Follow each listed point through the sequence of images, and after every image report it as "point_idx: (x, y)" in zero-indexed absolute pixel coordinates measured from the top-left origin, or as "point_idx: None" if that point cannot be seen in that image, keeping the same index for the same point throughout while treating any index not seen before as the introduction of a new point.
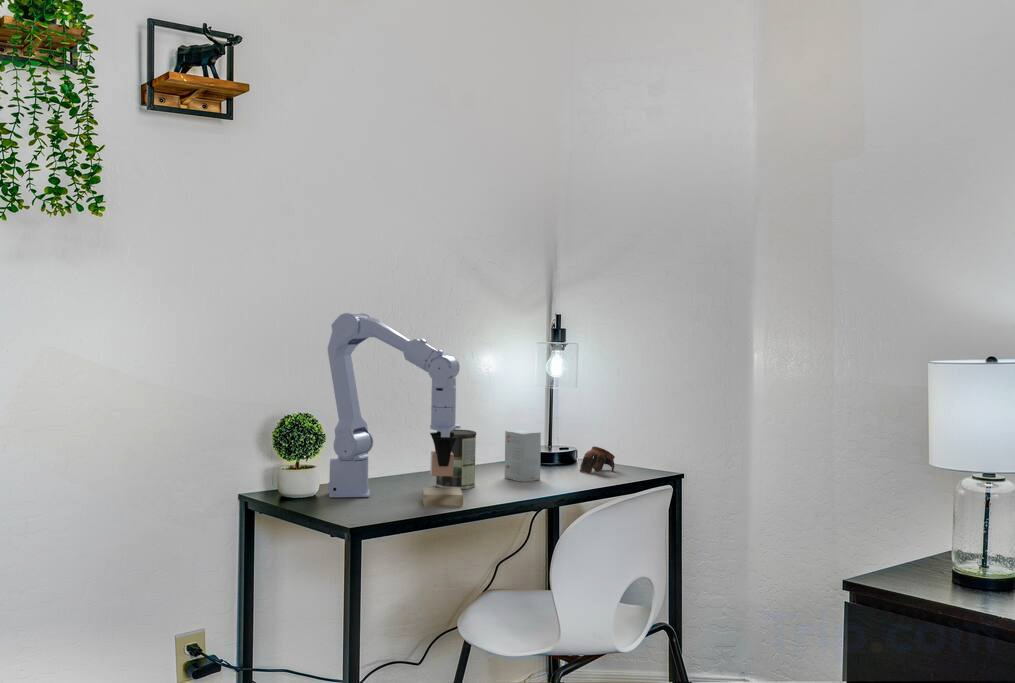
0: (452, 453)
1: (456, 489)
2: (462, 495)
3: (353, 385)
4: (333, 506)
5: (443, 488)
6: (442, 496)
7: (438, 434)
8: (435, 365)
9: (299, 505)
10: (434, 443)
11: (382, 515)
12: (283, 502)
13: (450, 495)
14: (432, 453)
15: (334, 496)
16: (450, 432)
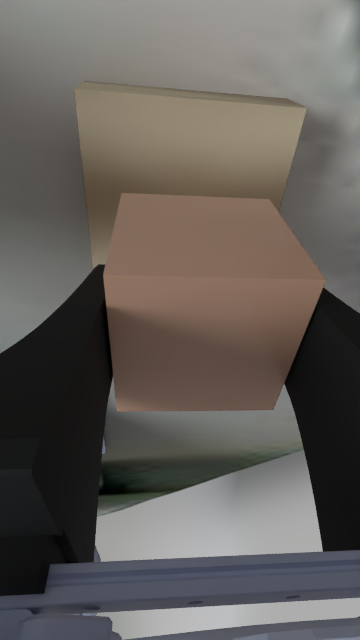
0: (249, 283)
1: (143, 125)
2: (305, 111)
3: None
4: (195, 439)
5: (111, 198)
6: None
7: (79, 540)
8: None
9: (175, 474)
10: (99, 454)
11: None
12: (144, 489)
13: (284, 182)
14: (223, 407)
15: (105, 446)
16: (25, 505)
